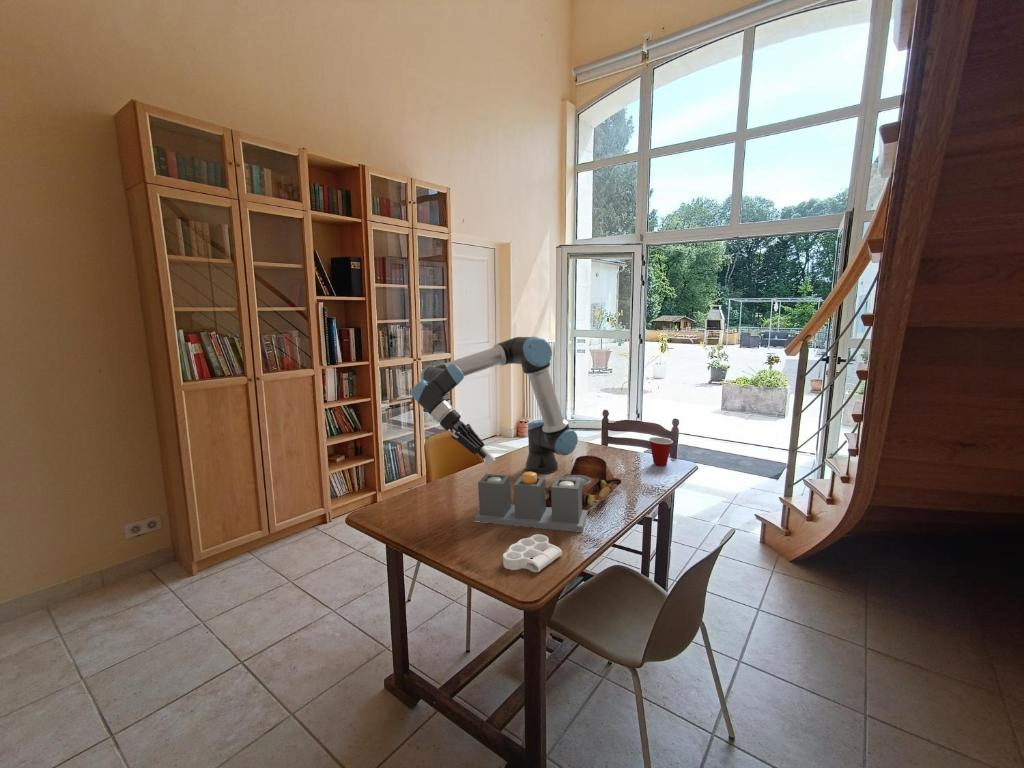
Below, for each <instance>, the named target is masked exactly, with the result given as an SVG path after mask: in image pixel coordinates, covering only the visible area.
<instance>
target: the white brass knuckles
mask: <svg viewBox="0 0 1024 768" xmlns="http://www.w3.org/2000/svg"><path fill="white" fill-rule="evenodd" d="M549 539H550V538H549V537H548V536H547V535H545V534H538V533H537V534H533V535H532V536H530V537H527V538H525V537H524V538H521V539H519V540H518V541H517V542H516V543H512V544H511V545H510V546H509V547H508V549H505V551H506V552H504V553H503V554H502V563H503V567H504V568H505V569H507V570H509V569H510V571H518V570H521V569H527V570H529V571H530V572H533V573H539V572H541V571H542V570H543V569H544V568H545V567H547V566H548V565H550V564H552V563H553V562H554V561H555V560H556V559H558V558H559V557H561V556H562V555H563V551H562V549H561V548H560V547H558V545H557V546H556V545H554V544H552V543H550V542H549V541H550V540H549ZM530 558H533V559H530ZM534 569H536V570H534Z"/></svg>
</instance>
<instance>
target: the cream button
mask: <svg viewBox="0 0 1024 768" xmlns="http://www.w3.org/2000/svg"><path fill="white" fill-rule="evenodd" d="M559 486H566V487H574V483H573V482H570V481H563V482H560V483H559Z"/></svg>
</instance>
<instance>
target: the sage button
mask: <svg viewBox="0 0 1024 768" xmlns="http://www.w3.org/2000/svg"><path fill="white" fill-rule="evenodd" d="M487 481H488V482H500V481H501V478H500V477H490V478H488V479H487Z"/></svg>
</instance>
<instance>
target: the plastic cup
mask: <svg viewBox="0 0 1024 768" xmlns="http://www.w3.org/2000/svg"><path fill="white" fill-rule="evenodd" d="M648 440H649V443H650V449H651V456H652V461H653V464H655V465H654V466H657V467H665V466H667V464H668V461H669V455H670V450H671V447H672V444H673V443H674V441H673V440H672V439H669V438H665V437H659V436H658V437H657V436H656V437H655V436H654V437H653V436H652V437H650V438H648Z"/></svg>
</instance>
